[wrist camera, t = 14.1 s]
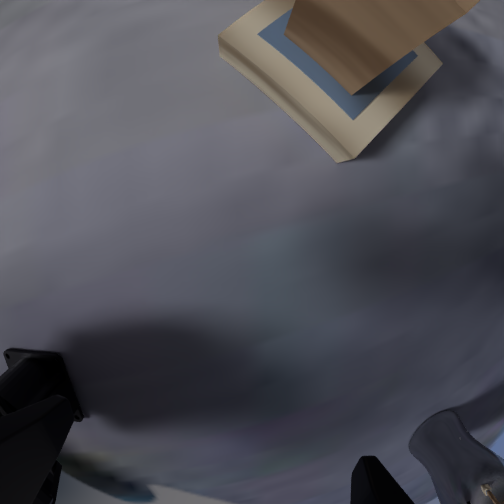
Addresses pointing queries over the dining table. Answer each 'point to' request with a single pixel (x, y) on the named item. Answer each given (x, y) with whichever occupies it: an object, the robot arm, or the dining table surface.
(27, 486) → the robot arm
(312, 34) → the walnut column
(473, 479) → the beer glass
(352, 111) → the birch plinth
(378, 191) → the dining table surface
